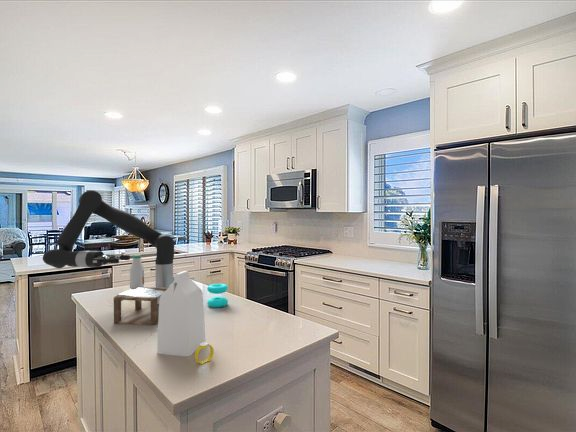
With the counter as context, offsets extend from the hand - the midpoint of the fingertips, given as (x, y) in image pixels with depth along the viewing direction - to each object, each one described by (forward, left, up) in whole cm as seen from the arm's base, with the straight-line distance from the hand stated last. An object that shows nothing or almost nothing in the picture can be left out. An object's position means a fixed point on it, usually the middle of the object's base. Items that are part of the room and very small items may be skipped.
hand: (124, 259), depth 148 cm
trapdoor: (-5, +9, -17) cm, 20 cm away
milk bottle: (-18, -47, -25) cm, 57 cm away
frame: (-6, +11, -25) cm, 28 cm away
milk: (-6, +52, -25) cm, 58 cm away
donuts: (-39, +15, -25) cm, 49 cm away
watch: (-7, +67, -25) cm, 72 cm away
